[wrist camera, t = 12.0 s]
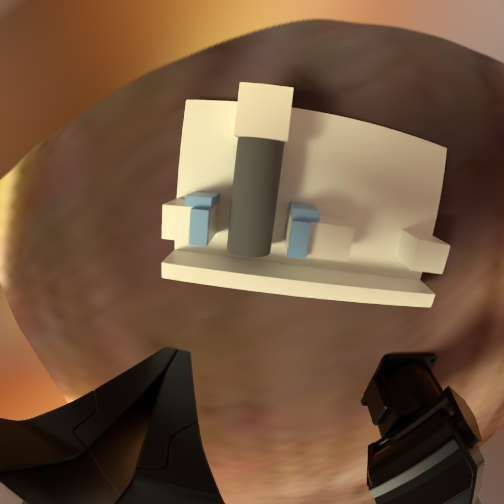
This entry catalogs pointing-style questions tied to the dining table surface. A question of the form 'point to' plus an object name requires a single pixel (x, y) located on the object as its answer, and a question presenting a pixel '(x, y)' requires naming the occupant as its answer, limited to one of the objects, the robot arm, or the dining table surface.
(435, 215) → the backplate with stepped blocks
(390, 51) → the dining table surface
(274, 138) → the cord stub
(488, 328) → the dining table surface
